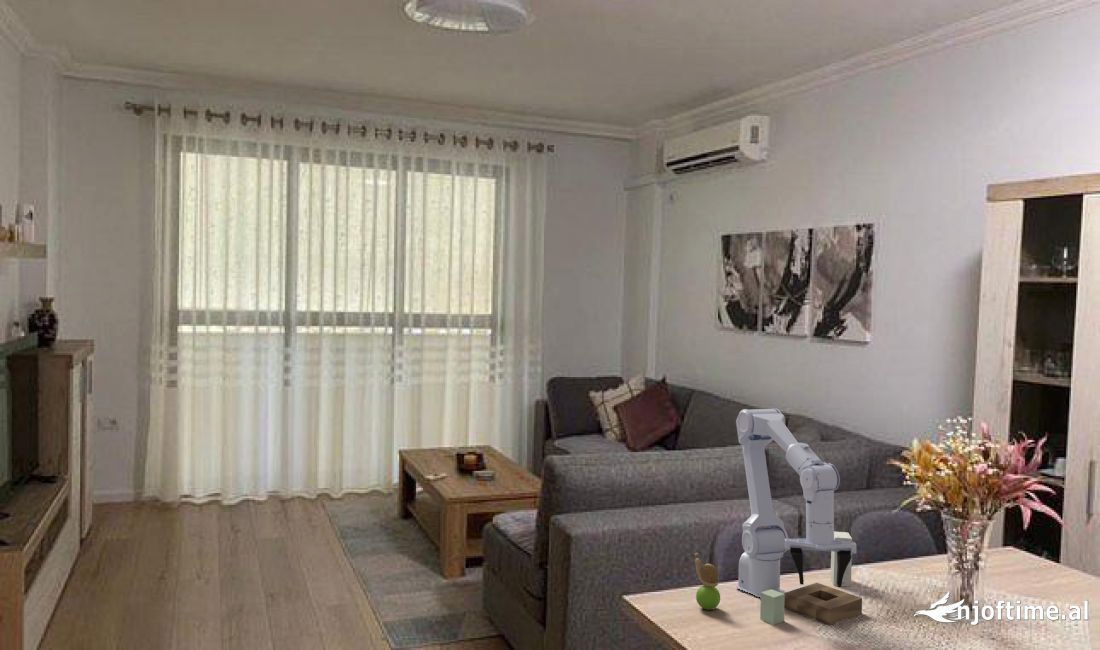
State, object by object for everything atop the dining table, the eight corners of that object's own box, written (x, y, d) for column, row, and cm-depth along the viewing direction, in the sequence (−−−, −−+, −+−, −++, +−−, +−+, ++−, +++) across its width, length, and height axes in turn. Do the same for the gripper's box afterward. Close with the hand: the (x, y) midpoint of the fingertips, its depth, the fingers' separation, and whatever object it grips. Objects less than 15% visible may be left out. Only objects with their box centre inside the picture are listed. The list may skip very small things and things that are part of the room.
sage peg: (760, 619, 180) (760, 592, 180) (770, 615, 182) (771, 589, 182) (773, 624, 177) (774, 597, 177) (784, 621, 179) (784, 594, 179)
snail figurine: (701, 601, 190) (702, 550, 190) (724, 609, 185) (725, 556, 185) (687, 607, 186) (688, 555, 186) (711, 615, 182) (712, 562, 181)
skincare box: (851, 587, 201) (852, 538, 200) (833, 585, 202) (834, 537, 201) (847, 578, 207) (848, 532, 206) (830, 577, 208) (831, 530, 207)
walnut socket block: (784, 607, 187) (784, 592, 186) (816, 597, 194) (816, 582, 194) (829, 625, 177) (829, 609, 177) (861, 613, 184) (862, 598, 184)
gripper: (785, 523, 173) (786, 587, 173) (858, 527, 170) (858, 592, 170) (784, 516, 180) (784, 577, 180) (853, 519, 177) (854, 582, 177)
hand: (820, 584), depth 175 cm, fingers open, 7 cm apart
